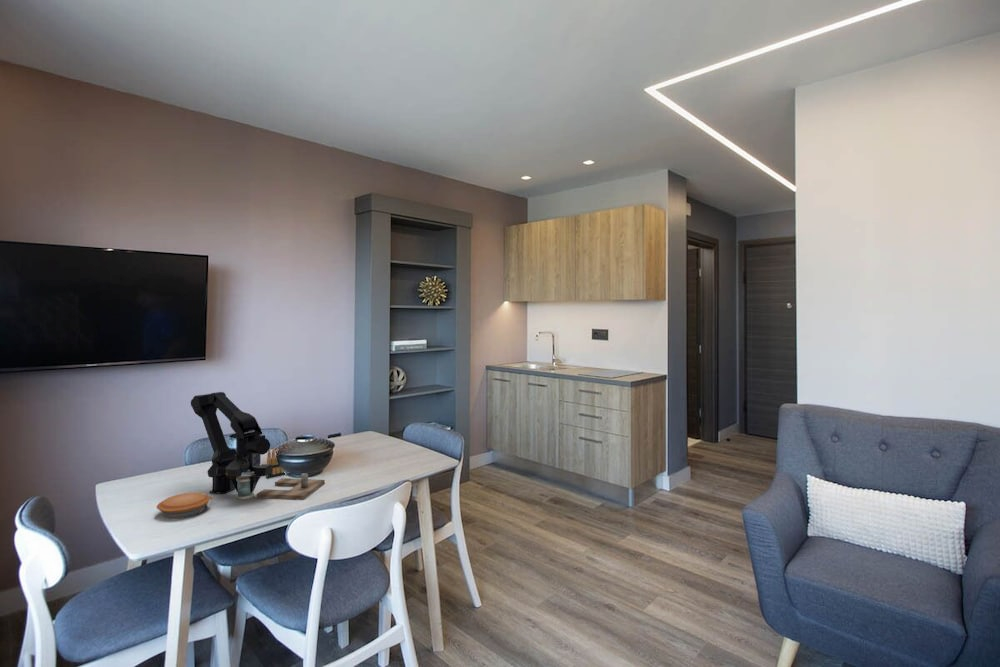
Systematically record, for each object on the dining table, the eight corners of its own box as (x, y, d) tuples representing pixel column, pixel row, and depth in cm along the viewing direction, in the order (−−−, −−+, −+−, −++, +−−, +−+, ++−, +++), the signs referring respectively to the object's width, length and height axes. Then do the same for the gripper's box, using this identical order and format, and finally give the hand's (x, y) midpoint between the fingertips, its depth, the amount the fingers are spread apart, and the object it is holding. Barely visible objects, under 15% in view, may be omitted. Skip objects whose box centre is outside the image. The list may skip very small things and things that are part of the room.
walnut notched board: (256, 497, 181) (256, 480, 180) (281, 481, 199) (281, 466, 198) (303, 499, 179) (303, 482, 179) (324, 483, 197) (324, 467, 197)
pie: (180, 502, 176) (180, 488, 175) (220, 504, 174) (220, 490, 174) (145, 520, 160) (144, 504, 160) (188, 522, 159) (188, 507, 159)
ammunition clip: (267, 478, 202) (267, 449, 202) (265, 477, 204) (265, 449, 203) (293, 473, 210) (293, 445, 210) (291, 472, 211) (291, 444, 211)
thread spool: (232, 498, 179) (232, 479, 179) (242, 493, 185) (242, 474, 185) (248, 499, 179) (247, 480, 179) (256, 493, 185) (256, 475, 184)
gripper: (206, 456, 174) (206, 499, 174) (256, 457, 173) (256, 501, 173) (226, 447, 185) (226, 488, 186) (273, 449, 184) (273, 490, 184)
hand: (245, 492), depth 182 cm, fingers closed on thread spool, 5 cm apart
